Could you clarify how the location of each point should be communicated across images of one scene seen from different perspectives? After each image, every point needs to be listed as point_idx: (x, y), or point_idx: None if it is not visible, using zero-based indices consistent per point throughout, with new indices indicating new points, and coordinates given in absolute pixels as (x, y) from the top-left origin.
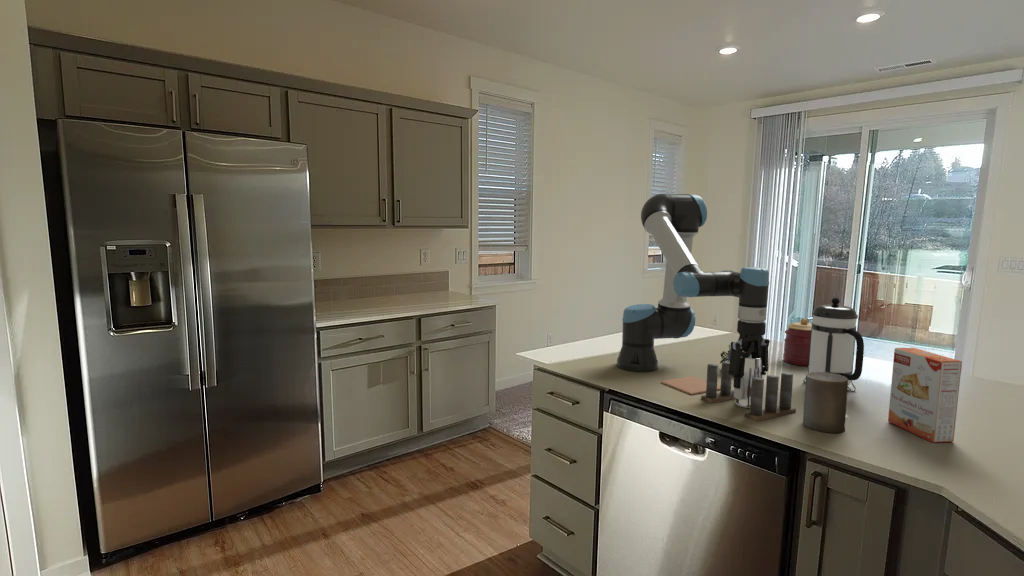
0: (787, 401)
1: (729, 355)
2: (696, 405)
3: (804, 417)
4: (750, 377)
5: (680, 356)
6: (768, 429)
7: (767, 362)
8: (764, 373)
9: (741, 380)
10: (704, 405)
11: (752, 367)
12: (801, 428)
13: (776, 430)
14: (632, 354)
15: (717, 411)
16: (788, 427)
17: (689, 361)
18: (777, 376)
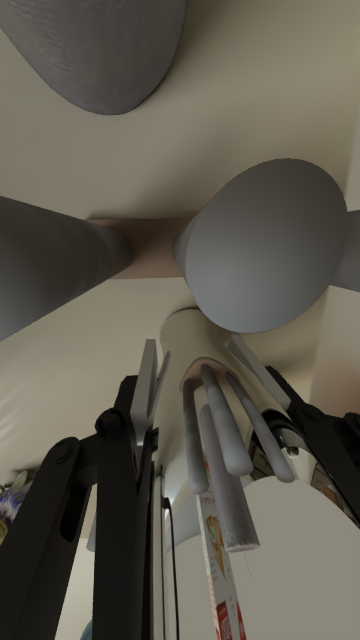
0: (108, 229)
1: None
2: (297, 371)
3: (174, 16)
4: (269, 392)
5: (86, 530)
6: (346, 121)
7: (8, 555)
8: (112, 419)
9: (280, 393)
10: (282, 366)
11: (327, 485)
12: (222, 32)
13: (335, 89)
14: None
15: (299, 327)
16: (260, 88)
17: (89, 517)
18: (206, 232)
